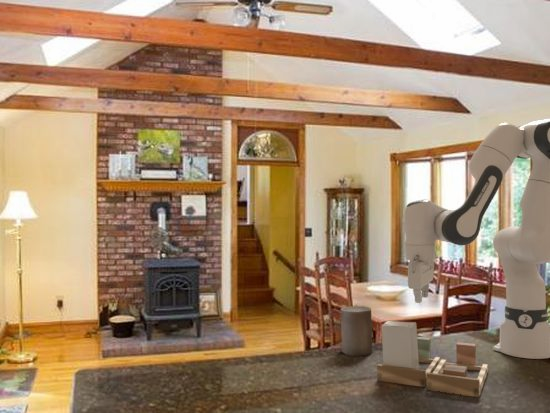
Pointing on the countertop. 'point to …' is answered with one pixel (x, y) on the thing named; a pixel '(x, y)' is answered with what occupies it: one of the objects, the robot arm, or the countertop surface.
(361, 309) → the pillar candle
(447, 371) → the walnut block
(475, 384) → the frame
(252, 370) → the countertop surface
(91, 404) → the countertop surface
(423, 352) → the frame
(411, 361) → the skincare box
